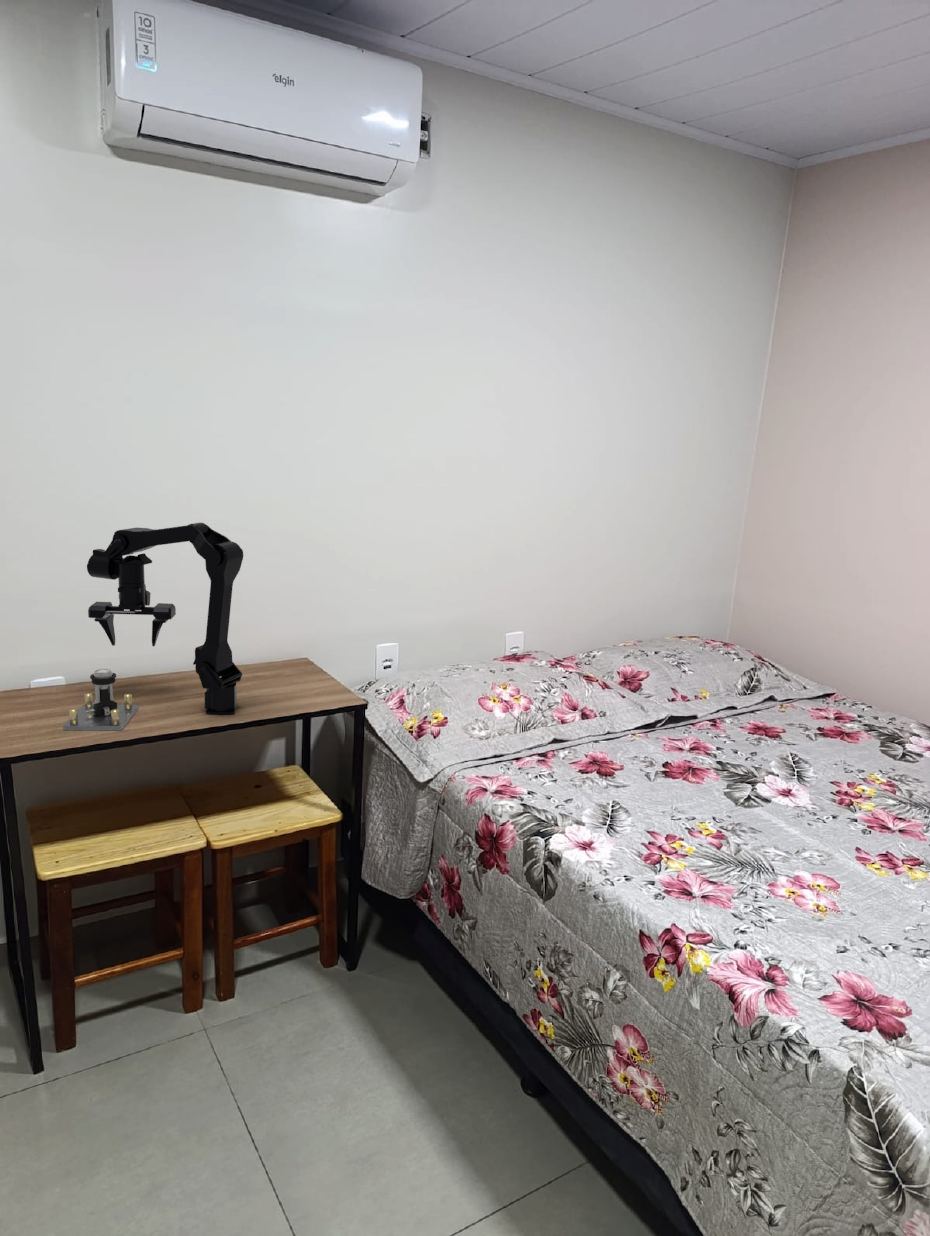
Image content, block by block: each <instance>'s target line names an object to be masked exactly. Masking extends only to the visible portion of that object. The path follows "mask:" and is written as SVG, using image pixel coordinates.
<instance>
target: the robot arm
mask: <svg viewBox="0 0 930 1236" xmlns="http://www.w3.org/2000/svg"><path fill="white" fill-rule="evenodd" d="M184 542H185V543H186V542H189V543H191V545H193V548H194V550H195V551H196V553H197V554H198V555H199V556H200V557H201V558H202V559H203V560H204V562H205V571H206V573H207V575H208V578H209V580H210V589H209V599H208V610H207V621H206V629H205V630H206V633H205V640H204V643H203V644H202V645H200V646H196V647H195V648H194V649H195V650H194V661H193V663H192V665H193V666H194V665H195V666H194V667H195V673H196V674H197V675H198V676H199V680H200V681H199V682H200V684H201V686H202V689H206V690H204V709H205V714H207V715H208V714H209V715H210V714H211V715H212V714H213V715H234V714H236V710H237V709H238V706H239V703H238V702H237V683H238V682H240V681H242V678H243V673H242V671H241V670H240V669H239V667H238V666H237V665H236V664H235V663H234V662H233V651H232V648H231V647H230V644H229V642H228V641H229V640H228V637H229V627H230V616H231V606H232V597H233V596H232V594H233V587H234V586H233V584H234V581H235V579H236V578H237V576H238V574H239V572H240V571H241V567H242V563H243V560H244V551H243V549H242V548H241V547H240V545H239V544H238V543H237V542H235V541H232V540H230V539H229V538H228V537H227V536H225V535H224V534H221V533H219V532H218V531H216V530H214V529H212V528H211V527H210V526H209V525H207V524H206V523H205V522H195V523H189V524H188V525H187V524H186V525H180V526H174V527H173V526H172V527H165V528H158V529H157V528H155V529H152V528H147V527H132V528H123V529H118V530H115V531H114V533H113V535H112V540H111V541H110V544H109V545H108V546H107V548H106V549H103V548H96V549H93V550H92V554H91V556H90V557H89V559H88V562H87V564H86V569H87V572H88V575H89V576H91V577H92V578H99V579H105V580H106V579H107V580H117V579H118V587H117V592H118V601H119V603H118V605H113V604H112V601H95V602H94V603H93V604H91V605H90V606H89V607H88V610H87V614H88V615H87V616H88V618H90V619H94V622H98V623H99V625H100V626H101V628H102V629H103V630H104V631H105V632H104V633H105V634H106V636H107V638H108V639H109V641H110V644H111V646H113V647H114V646H115V645H116V635H115V634H116V633H115V632H116V631H115V626H114V624H115V623H114V617H115V615H138V616H139V615H140V616H141V615H142V616H146V615H147V616H153V617H154V619H152V621H151V622H152V623H151V625H152V626H151V645H152V647H155V646H156V644H157V641H158V638H159V634H160V631H161V629H162V627H163V624H165V623H167V622H168V621H169V620H172V619H173V618H174V617H175V616H176V615H177V614H176V613H177V612H176V606H175V604H173V603H168V602H167V603H166V602H165V603H164V602H162V603H160V602H159V603H157V604H156V605H155V606H150V605H151V593H152V592H150V591H148V590H147V588H146V587H147V586H146V583H145V565H149V564H152V563H153V560H152V559H151V558H150V557H148V556H147V555H146V553H142V552H144V551H146V550H150V549H153V548H154V547H156V546H162V545H163V546H164V545H171V544H179V543H184ZM139 552H141V553H139ZM135 553H139V554H137V555H133V554H135ZM123 556H125V557H123Z"/></svg>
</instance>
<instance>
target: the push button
mask: <svg viewBox="0 0 930 1236" xmlns="http://www.w3.org/2000/svg"><path fill="white" fill-rule="evenodd" d="M89 678H90V679H91V683H92V684H93V685H94V693H95V694H94V695H95V700H94V702H93V704H92V707H93V709H91V710H87V712H90V711H93V713H91V714H87V716H90V715H95V716H96V717H99V716H104V715H109V714H111V710H112V709H117V705H118V702H116V701H115V698H114V695H113V694H114V693H113V684H114V683H116V678H117V674H116V673H115V672H113V671H112V669H109V668H99V669H96V670H94V672H93V673H92V674H90V676H89Z"/></svg>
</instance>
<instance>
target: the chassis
mask: <svg viewBox="0 0 930 1236" xmlns="http://www.w3.org/2000/svg"><path fill="white" fill-rule="evenodd" d="M132 698H133V695H132V694H131V693H125V694H123V699H124V700H123V704H117V709H112V710H111V714H109V715H104V716H99V717H96V716H95V715H90V716H87V714H91V713H93V711H90V712H87V710H91V709H93V707H92V704H94V701H93V693H89V692H88V693H84V704H83V705H81V706H80V708H79V709H77V708H70V709H68V712H69V715H68V716H69V719H68V720H67V721H66V722H65V723H64V724H63V725H62V730H63V731H118V732H119V731H122V730H123V729H124V728H125V727H126V725H128V723H129V721H130V720H131V719H132V718H133V716H134V715H135V713H137V711H138V709H139V705H138V704H133V703H132V701H133V699H132Z"/></svg>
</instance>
